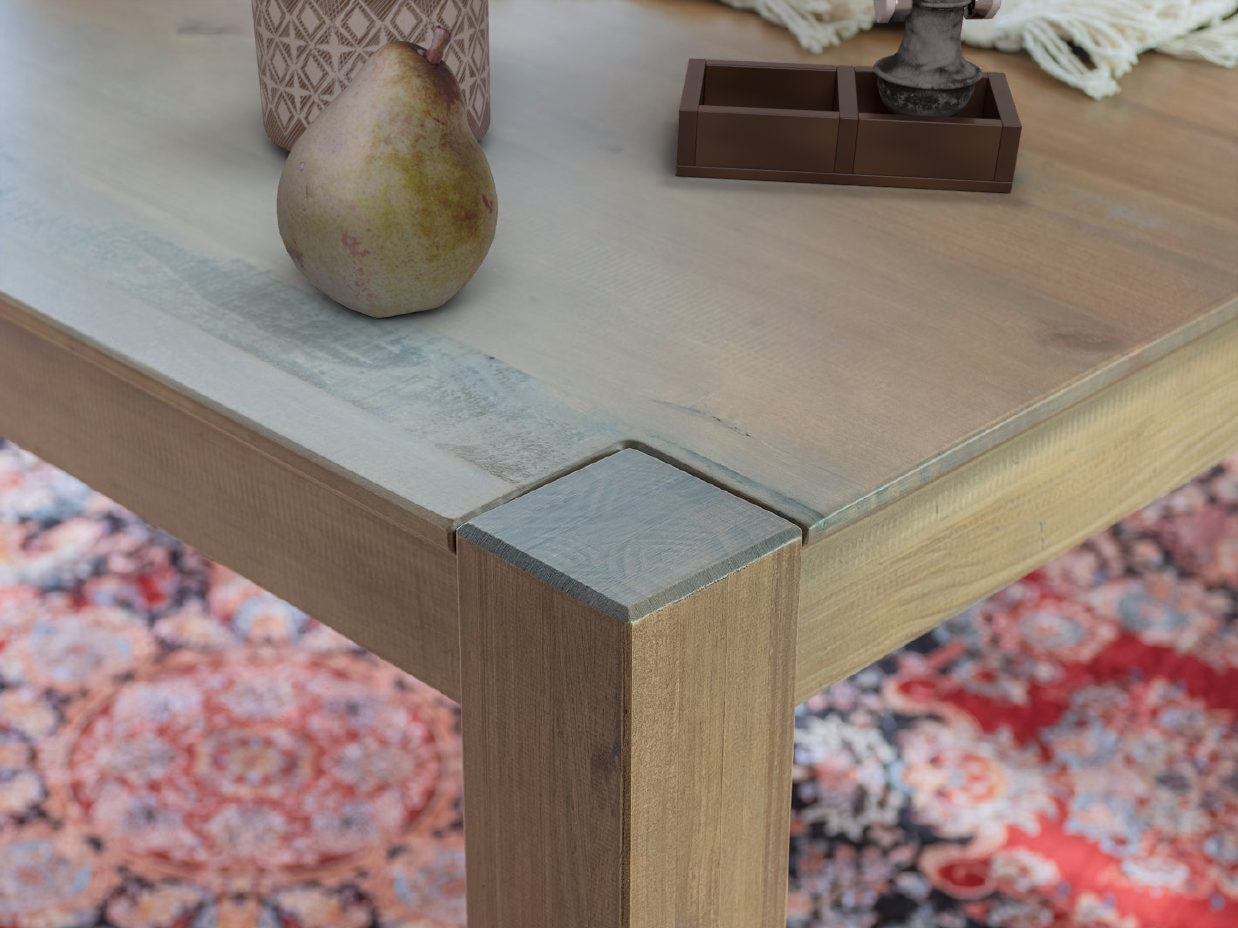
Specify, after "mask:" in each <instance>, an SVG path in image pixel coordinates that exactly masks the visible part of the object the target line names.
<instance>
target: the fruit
mask: <svg viewBox="0 0 1238 928" xmlns="http://www.w3.org/2000/svg"><path fill="white" fill-rule="evenodd" d="M451 38H452V36H451V34H450V33H449V32H448V30H447V29H444V28H441V27H440V25H437V26H436V27H435V29H434V38H433V40H432V45H431V47H430V48H429V49H428V50H427V49H425V48H423V47H421V46H419V45H417V44H414V43H411V42H407V41H395V42H391V43H388V44H386V45H384V46H382V47H381V48H379V49H378V50H377V51H375V52H374V53H373V54H372V55H371V56H370V57H369V59H368V60H367V61H366V62H365V64H364V65H363V66H362V68H361V69H360V71H359V72H358V73H357V75H356V76H355V77H354V79H353V80H352V81H351V82H350V84H349V85H348V86H347V87H346V88H345V89H344V90H343V91H342V92H341V93H340V94H339V95H338V96H337V97H336V98H335V99H334V100H333V101H332V102H331V103H330V104H329V105H328V106H327V107H326V108H325V109H324V110H323V111H322V112H321V113H319V115H318V116H317V117H316V118H315V119H314V120H313V121H312V122H311V124H310V125H309V126H308V127H307V129H306V130H305V131H304V132H303V134H302V135H301V136H300V137H299V138H298V140H297V141H296V143H295V144H294V146H293V147H292V149H291V151H289V154H288V156H287V157H286V160H285V162H284V164H283V165H284V166H283V167H282V170H281V171H282V172H281V174H280V178H279V183H278V186H277V194H276V218H277V226H278V227H277V228H278V231H279V232H278V233H279V235H280V238H281V240H282V242H283V245H284V247H285V250H286V252H287V254H288V256H289V257H290V259H291V260H292V262H293V264H294V266H295V267H296V269H297V270H298V271H299V272H300V274H301V275H303V277H304V278H305V279H306V281H308V282H309V283H310V284H311V285H313V286H314V287H315V288H317V289H318V290H320V292H322V293H323V294H324V295H326V296H327V297H328V298H330V299H332V300H334V301H335V302H336V303H338V304H340V305H342V306H343V307H345V308H348V309H349V310H352V311H355V312H359V313H362V314H364V315H366V316H369V317H372V318H377V319H382V318H389V317H394V316H395V317H396V316H399V315H405V314H406V315H407V314H411V313H414V312H415V313H417V312H423V311H430V310H433V309H437V308H440V307H442V306H444V305H445V304H446V303H447V302H448V301H449V300H451V299H452V298H453V297H454V296H456V295H457V293H459V292H460V291H461V290H462V288H463V287H465V286H466V285H467V284H468V283H469V282H470V280H471V279H472V278H473V277H474V276H475V274H476V273H477V271H478V270H479V268H480V267H481V265H482V264H483V262H484V261H485V259H486V257H487V255H488V253H489V251H490V249H491V246H492V244H493V242H494V240H495V236H496V232H497V231H496V230H497V224H498V215H499V199H498V193H497V188H496V182H495V179H494V176H493V172H492V170H491V165H490V163H489V161H488V158H487V156H486V154H485V152H484V150H483V148H482V146H481V144H480V143H479V142H478V141H477V140H476V139H475V137H474V136H473V134H472V132H471V129H470V127H469V125H468V121H467V115H466V108H465V101H464V97H463V93H462V91H461V88H460V86H459V83H458V81H457V79H456V76H455V75H454V73H453V71H452V70H451V68H450V67H449V66H448V65H447V64H446V63H445V62H444V61H443V60H442V58H443V56H444V54H443V52H444V50H445V48H446V47H447V45H448V44H449V42H450V41H451Z"/></svg>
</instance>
